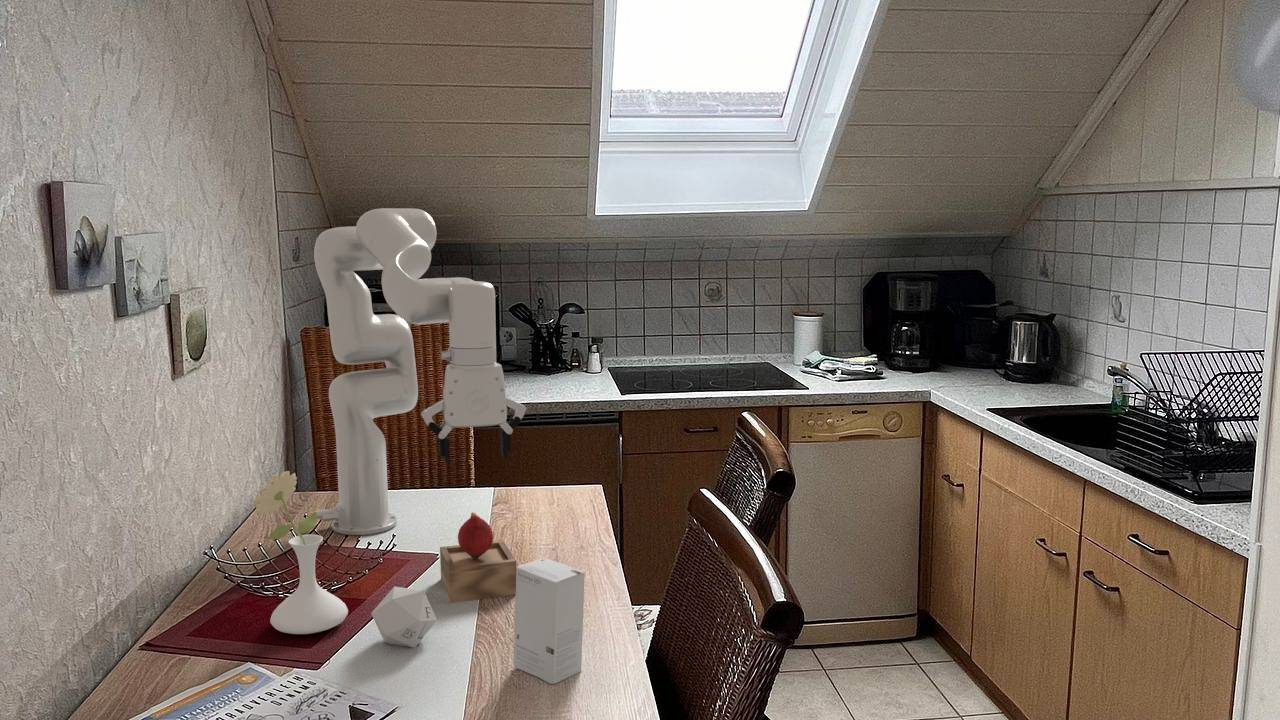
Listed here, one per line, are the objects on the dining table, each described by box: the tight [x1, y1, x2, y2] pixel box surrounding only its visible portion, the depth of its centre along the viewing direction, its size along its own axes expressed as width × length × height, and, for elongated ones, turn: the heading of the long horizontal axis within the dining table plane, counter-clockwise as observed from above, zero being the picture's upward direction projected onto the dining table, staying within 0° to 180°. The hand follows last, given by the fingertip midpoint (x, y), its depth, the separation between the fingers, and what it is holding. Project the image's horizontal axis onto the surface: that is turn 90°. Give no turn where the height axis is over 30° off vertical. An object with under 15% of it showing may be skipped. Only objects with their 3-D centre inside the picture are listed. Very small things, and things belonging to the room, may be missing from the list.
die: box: [370, 585, 438, 649], centre depth 147 cm, size 8×9×10 cm
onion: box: [457, 512, 494, 559], centre depth 168 cm, size 6×6×8 cm
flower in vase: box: [252, 470, 349, 635], centre depth 151 cm, size 13×11×25 cm
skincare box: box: [513, 557, 586, 685], centre depth 137 cm, size 8×6×15 cm
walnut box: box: [439, 539, 517, 604], centre depth 169 cm, size 11×11×6 cm
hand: (475, 458), depth 166 cm, fingers open, 9 cm apart
